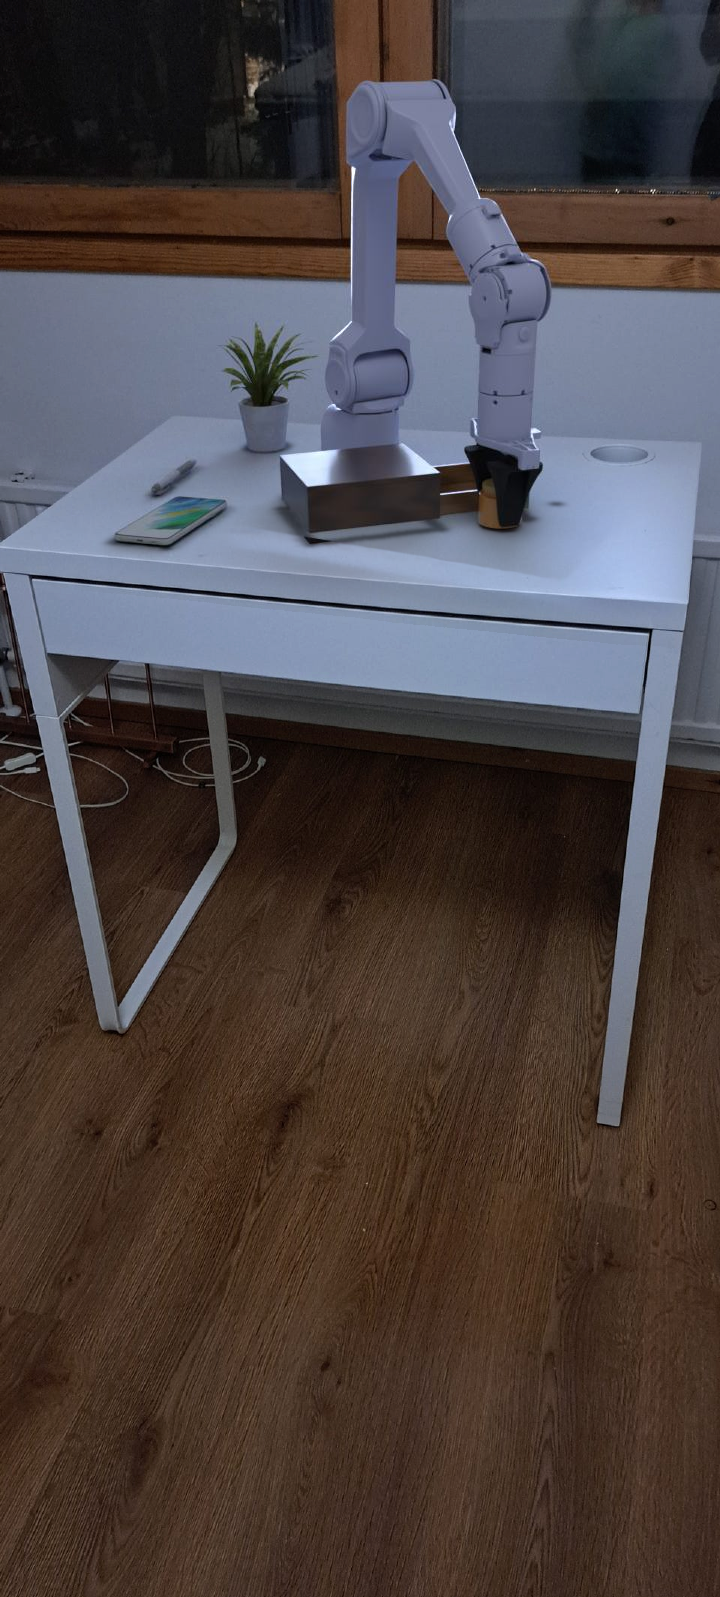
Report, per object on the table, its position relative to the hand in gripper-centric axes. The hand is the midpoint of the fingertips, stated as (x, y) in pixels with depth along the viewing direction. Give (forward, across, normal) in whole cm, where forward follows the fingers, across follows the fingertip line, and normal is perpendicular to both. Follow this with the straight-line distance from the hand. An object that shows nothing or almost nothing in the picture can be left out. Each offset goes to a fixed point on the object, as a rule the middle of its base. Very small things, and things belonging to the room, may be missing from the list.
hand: (499, 518), depth 127 cm
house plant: (+2, +44, +17) cm, 48 cm away
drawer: (+2, +11, +2) cm, 11 cm away
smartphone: (+2, +16, +34) cm, 38 cm away
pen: (+2, +33, +31) cm, 45 cm away
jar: (0, 0, 0) cm, 0 cm away
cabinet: (+2, +11, +13) cm, 17 cm away
